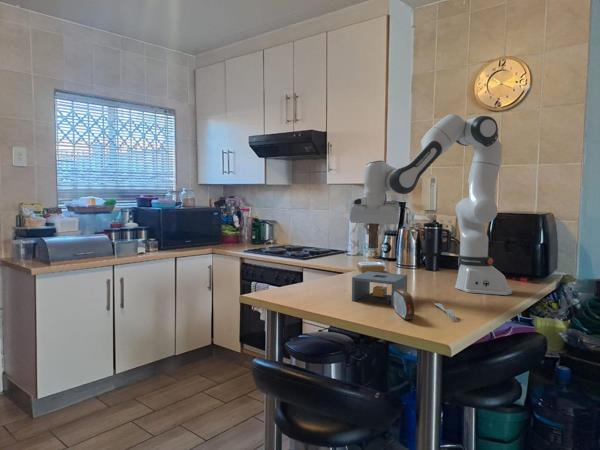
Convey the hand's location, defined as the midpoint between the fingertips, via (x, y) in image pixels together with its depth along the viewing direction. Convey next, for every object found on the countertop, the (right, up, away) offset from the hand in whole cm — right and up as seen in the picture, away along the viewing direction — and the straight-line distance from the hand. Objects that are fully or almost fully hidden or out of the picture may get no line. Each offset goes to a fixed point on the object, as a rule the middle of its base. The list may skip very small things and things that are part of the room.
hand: (373, 234), depth 183 cm
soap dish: (+6, -21, +47) cm, 51 cm away
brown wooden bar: (0, -5, 0) cm, 5 cm away
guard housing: (0, -24, -15) cm, 28 cm away
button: (0, -22, -15) cm, 27 cm away
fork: (+18, -27, -33) cm, 46 cm away
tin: (+3, -26, -37) cm, 45 cm away
